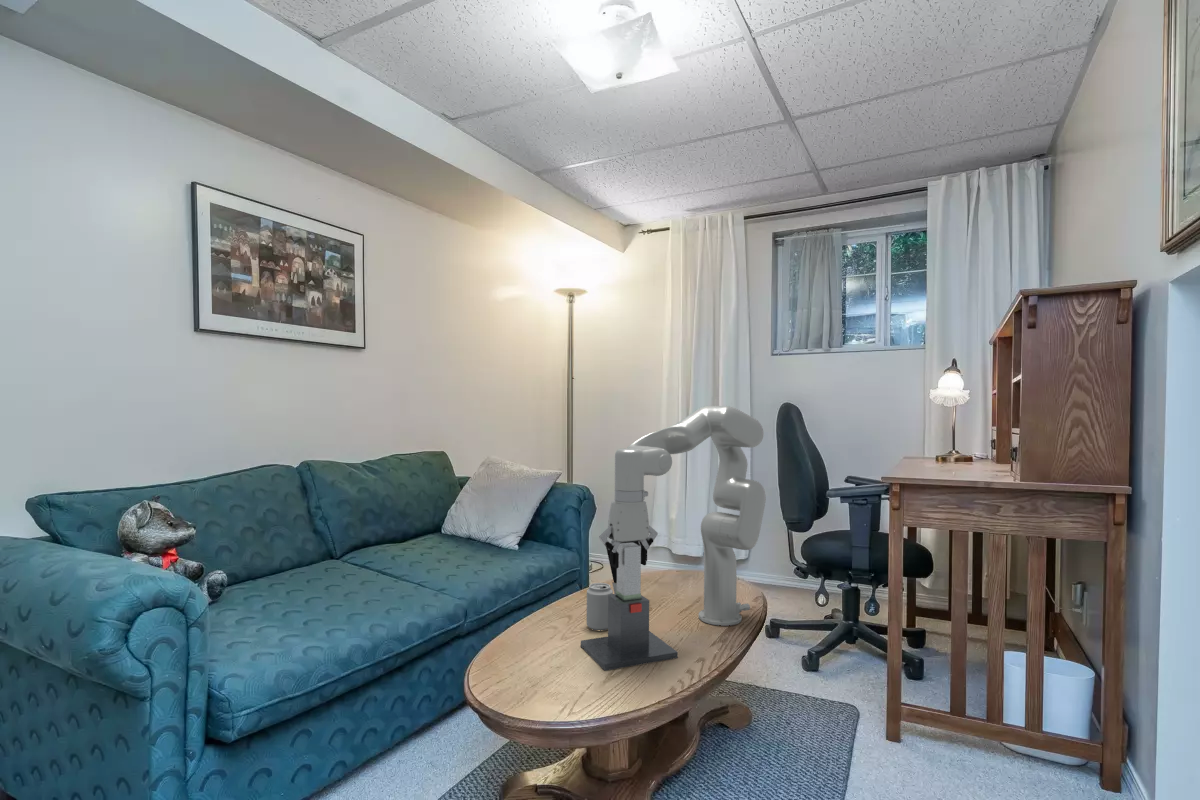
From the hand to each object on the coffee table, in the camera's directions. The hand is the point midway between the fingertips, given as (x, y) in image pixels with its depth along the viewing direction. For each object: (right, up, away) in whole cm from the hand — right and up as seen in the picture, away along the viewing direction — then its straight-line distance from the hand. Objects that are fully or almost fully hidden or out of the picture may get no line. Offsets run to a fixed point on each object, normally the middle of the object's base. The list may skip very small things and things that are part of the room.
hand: (628, 565), depth 157 cm
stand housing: (0, -22, 0) cm, 22 cm away
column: (0, -14, 0) cm, 14 cm away
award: (+1, -23, +39) cm, 45 cm away
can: (-7, -23, +17) cm, 29 cm away
